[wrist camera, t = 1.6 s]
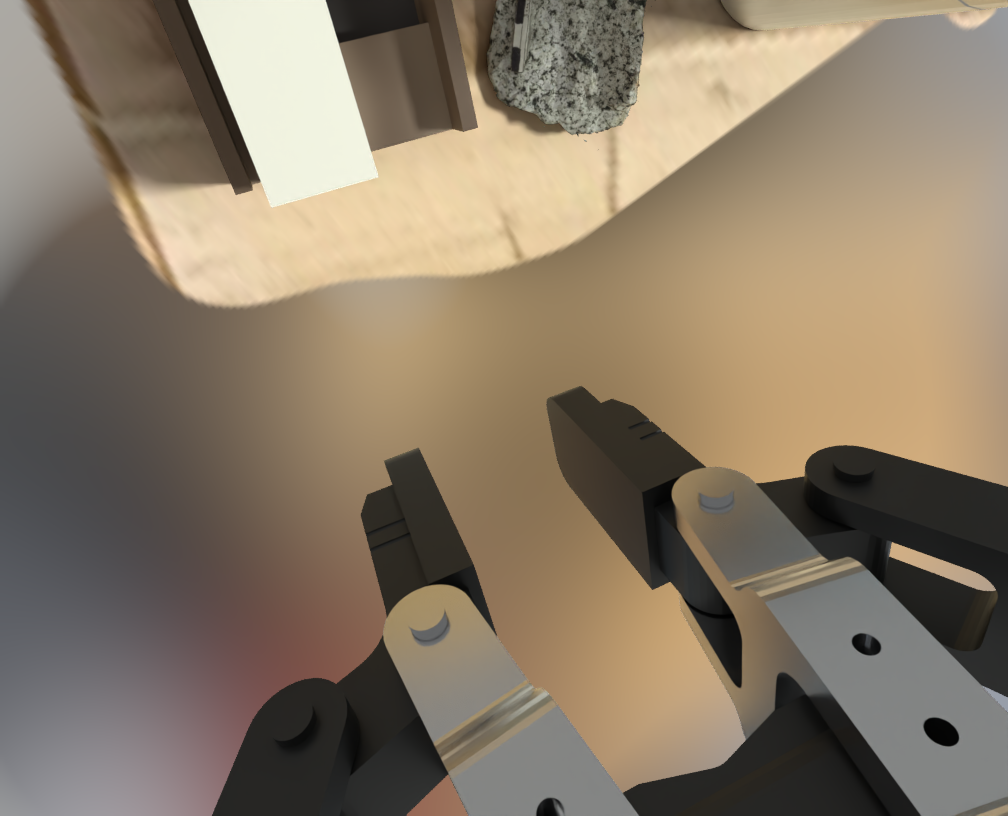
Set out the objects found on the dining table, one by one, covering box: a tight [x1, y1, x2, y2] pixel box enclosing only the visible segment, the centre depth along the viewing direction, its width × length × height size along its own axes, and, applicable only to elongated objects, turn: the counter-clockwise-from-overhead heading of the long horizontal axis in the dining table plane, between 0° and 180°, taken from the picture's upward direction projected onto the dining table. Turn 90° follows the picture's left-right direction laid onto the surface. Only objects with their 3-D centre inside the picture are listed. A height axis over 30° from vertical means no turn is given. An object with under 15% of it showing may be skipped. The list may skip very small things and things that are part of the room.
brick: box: [188, 0, 379, 208], centre depth 26 cm, size 4×10×8 cm, turn 12°
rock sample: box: [487, 0, 652, 150], centre depth 33 cm, size 10×8×9 cm
